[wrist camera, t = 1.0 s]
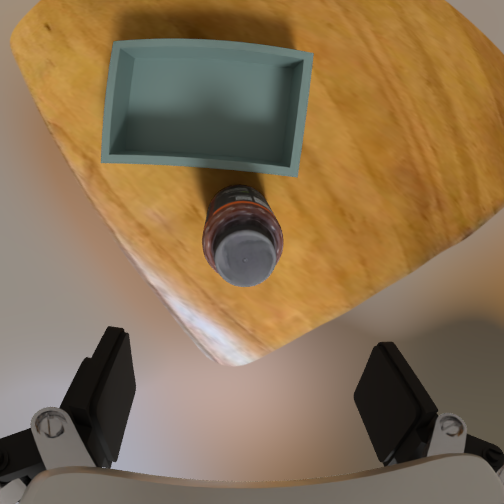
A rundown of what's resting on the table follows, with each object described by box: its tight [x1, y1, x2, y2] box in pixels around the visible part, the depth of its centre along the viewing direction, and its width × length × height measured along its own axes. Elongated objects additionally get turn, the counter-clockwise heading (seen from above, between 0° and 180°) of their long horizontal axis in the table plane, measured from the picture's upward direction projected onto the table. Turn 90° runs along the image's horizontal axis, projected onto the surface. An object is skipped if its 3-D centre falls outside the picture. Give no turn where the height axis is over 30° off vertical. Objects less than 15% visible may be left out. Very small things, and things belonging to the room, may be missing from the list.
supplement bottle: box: [202, 185, 283, 287], centre depth 25 cm, size 6×6×11 cm
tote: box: [101, 39, 314, 177], centre depth 24 cm, size 10×16×5 cm, turn 83°
